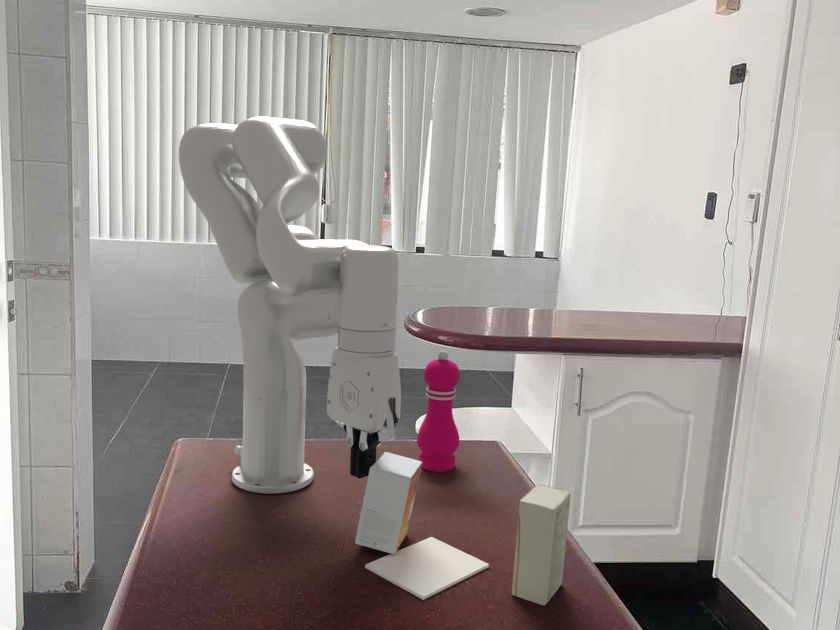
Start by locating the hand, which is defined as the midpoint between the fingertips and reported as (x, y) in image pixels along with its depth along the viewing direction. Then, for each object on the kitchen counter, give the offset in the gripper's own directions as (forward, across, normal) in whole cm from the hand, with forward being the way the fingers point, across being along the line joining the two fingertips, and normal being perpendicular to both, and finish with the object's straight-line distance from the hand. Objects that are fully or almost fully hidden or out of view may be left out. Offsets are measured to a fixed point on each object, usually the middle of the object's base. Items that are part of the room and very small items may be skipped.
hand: (362, 474), depth 106 cm
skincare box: (+9, +25, +6) cm, 27 cm away
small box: (+8, +4, 0) cm, 9 cm away
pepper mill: (+8, -11, +27) cm, 30 cm away
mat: (+9, +12, 0) cm, 15 cm away
